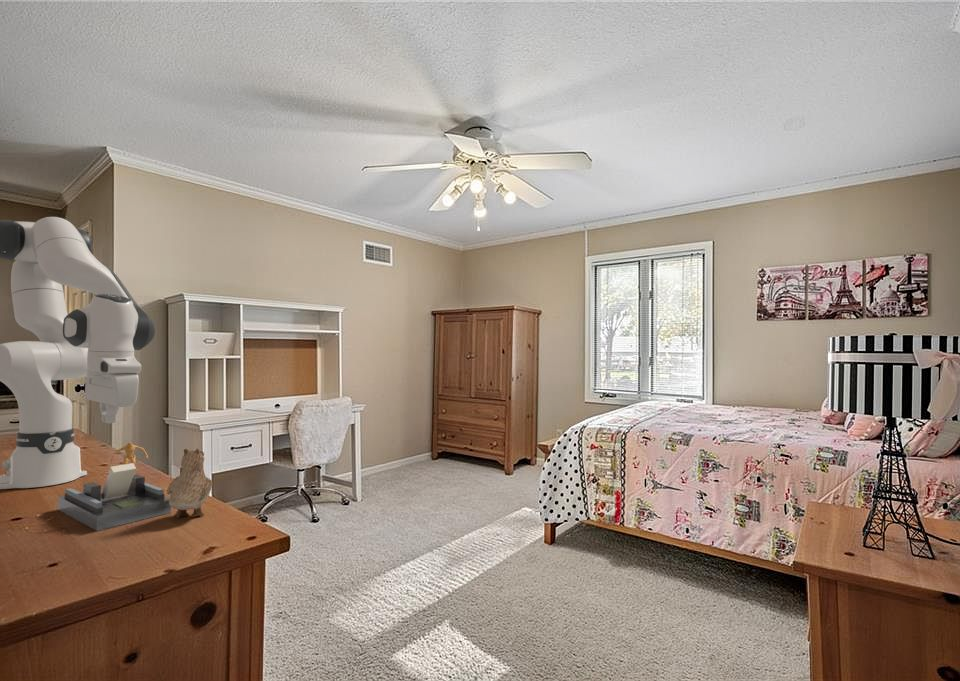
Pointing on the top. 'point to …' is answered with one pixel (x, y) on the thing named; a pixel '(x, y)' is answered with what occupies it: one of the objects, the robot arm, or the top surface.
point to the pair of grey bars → (97, 505)
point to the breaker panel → (116, 506)
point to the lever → (118, 480)
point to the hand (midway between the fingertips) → (108, 422)
